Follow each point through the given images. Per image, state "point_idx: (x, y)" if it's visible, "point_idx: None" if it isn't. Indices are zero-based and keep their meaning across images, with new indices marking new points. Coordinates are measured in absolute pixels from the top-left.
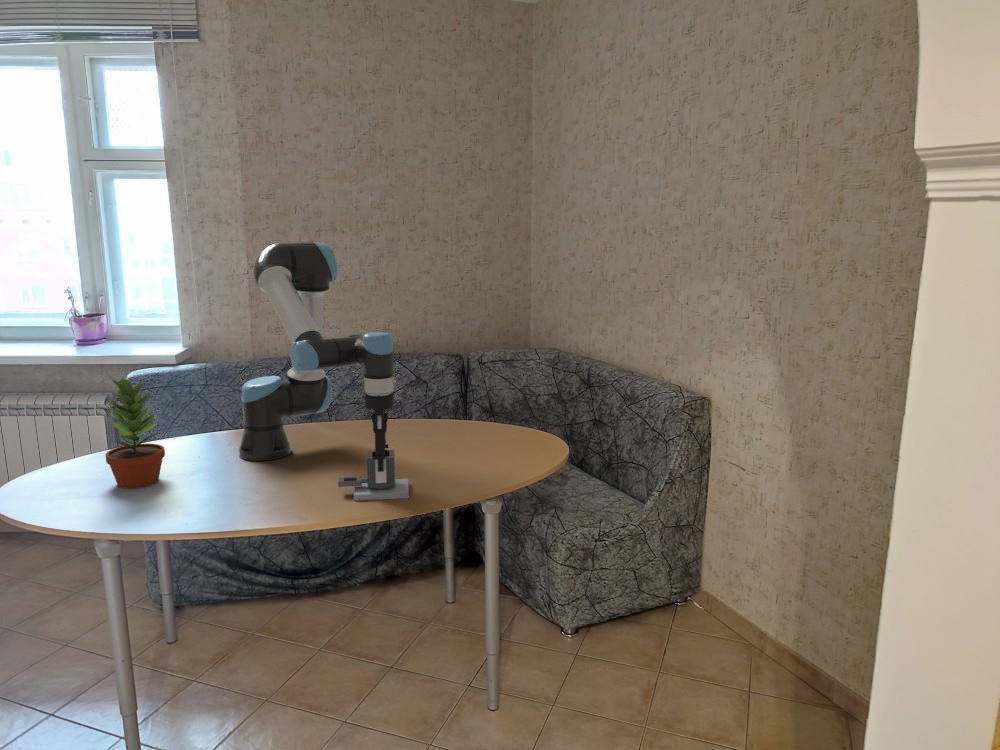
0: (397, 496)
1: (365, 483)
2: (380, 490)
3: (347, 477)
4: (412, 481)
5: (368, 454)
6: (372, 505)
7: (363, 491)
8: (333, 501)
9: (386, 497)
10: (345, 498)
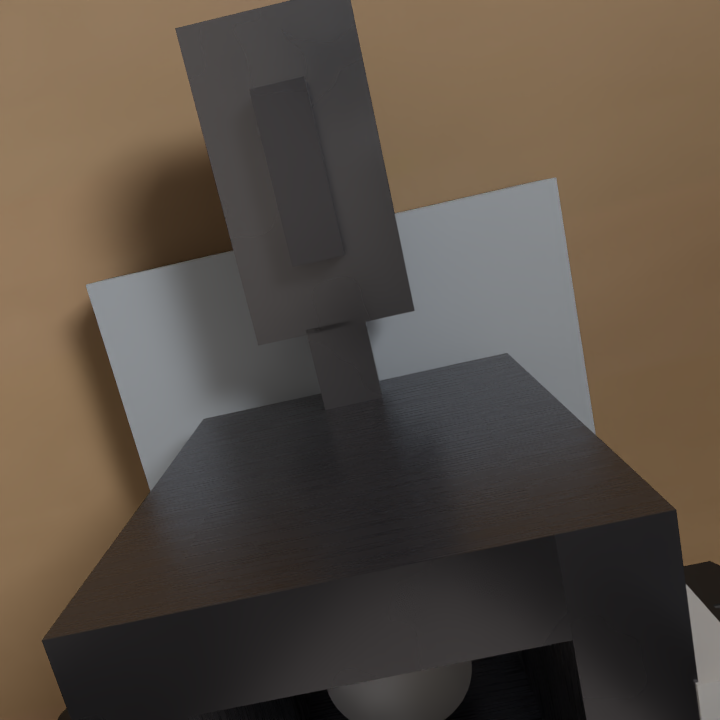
0: None
1: (462, 317)
2: None
3: (282, 137)
4: None
5: (354, 603)
6: (22, 483)
7: (210, 360)
8: (47, 65)
9: None
10: (155, 172)
